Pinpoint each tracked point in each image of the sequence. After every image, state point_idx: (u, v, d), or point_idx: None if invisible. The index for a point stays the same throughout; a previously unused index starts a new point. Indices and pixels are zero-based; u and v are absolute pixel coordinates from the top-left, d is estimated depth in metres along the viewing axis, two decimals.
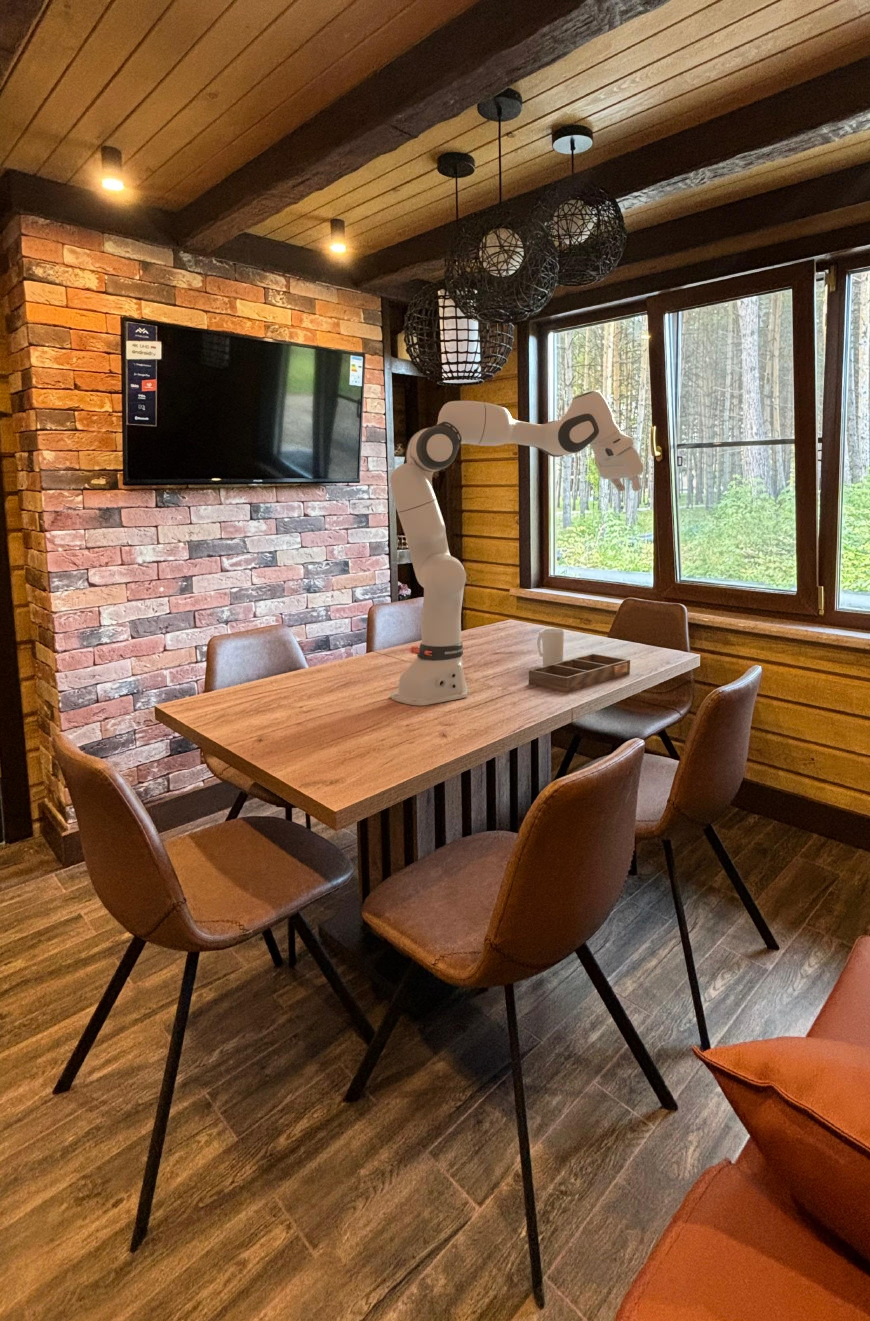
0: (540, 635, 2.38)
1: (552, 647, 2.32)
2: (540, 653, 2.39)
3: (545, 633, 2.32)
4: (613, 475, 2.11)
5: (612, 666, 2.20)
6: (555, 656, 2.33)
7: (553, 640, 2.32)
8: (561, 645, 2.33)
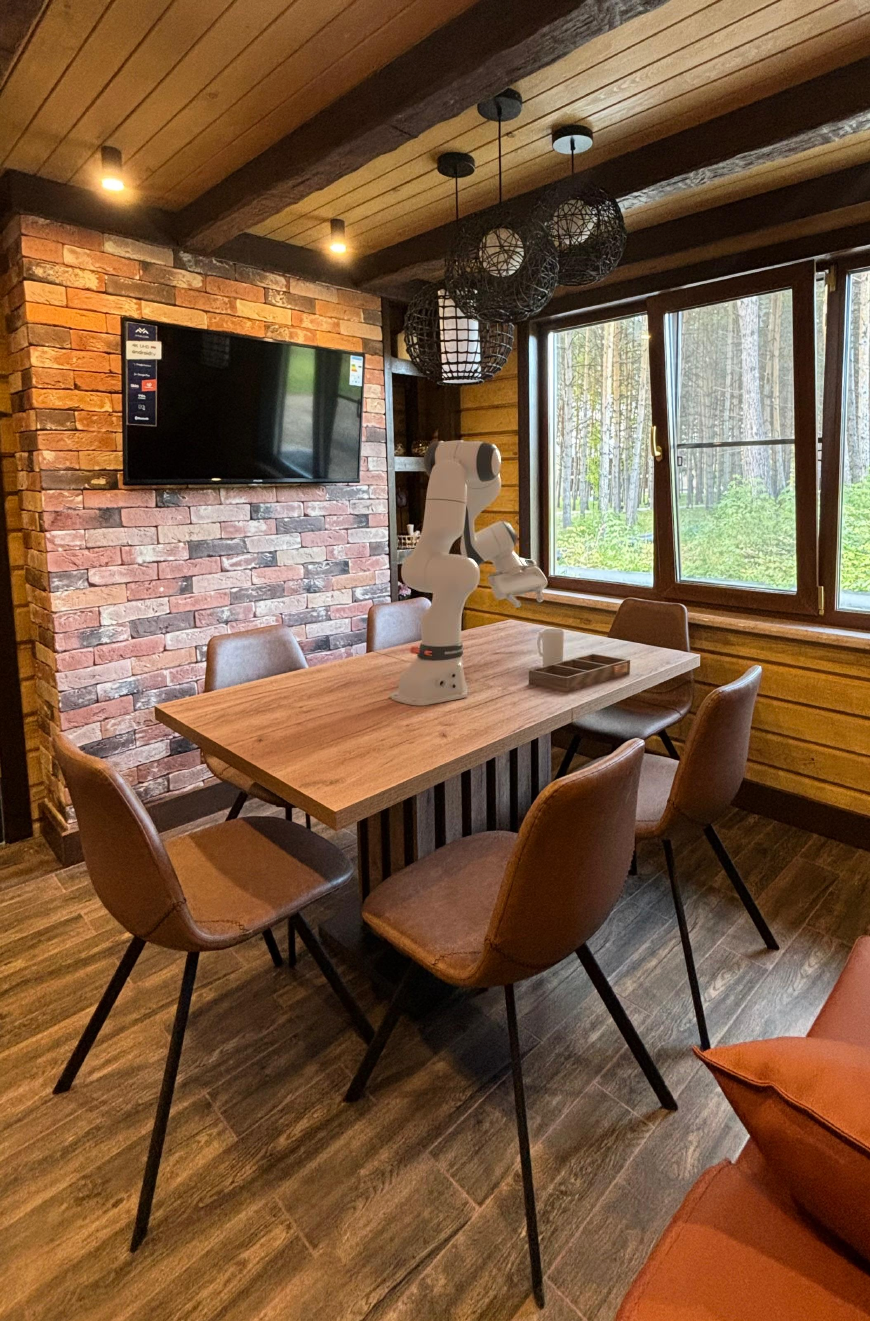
0: (540, 635, 2.38)
1: (552, 647, 2.32)
2: (540, 653, 2.39)
3: (545, 633, 2.32)
4: (520, 587, 2.42)
5: (612, 666, 2.20)
6: (555, 656, 2.33)
7: (553, 640, 2.32)
8: (561, 645, 2.33)
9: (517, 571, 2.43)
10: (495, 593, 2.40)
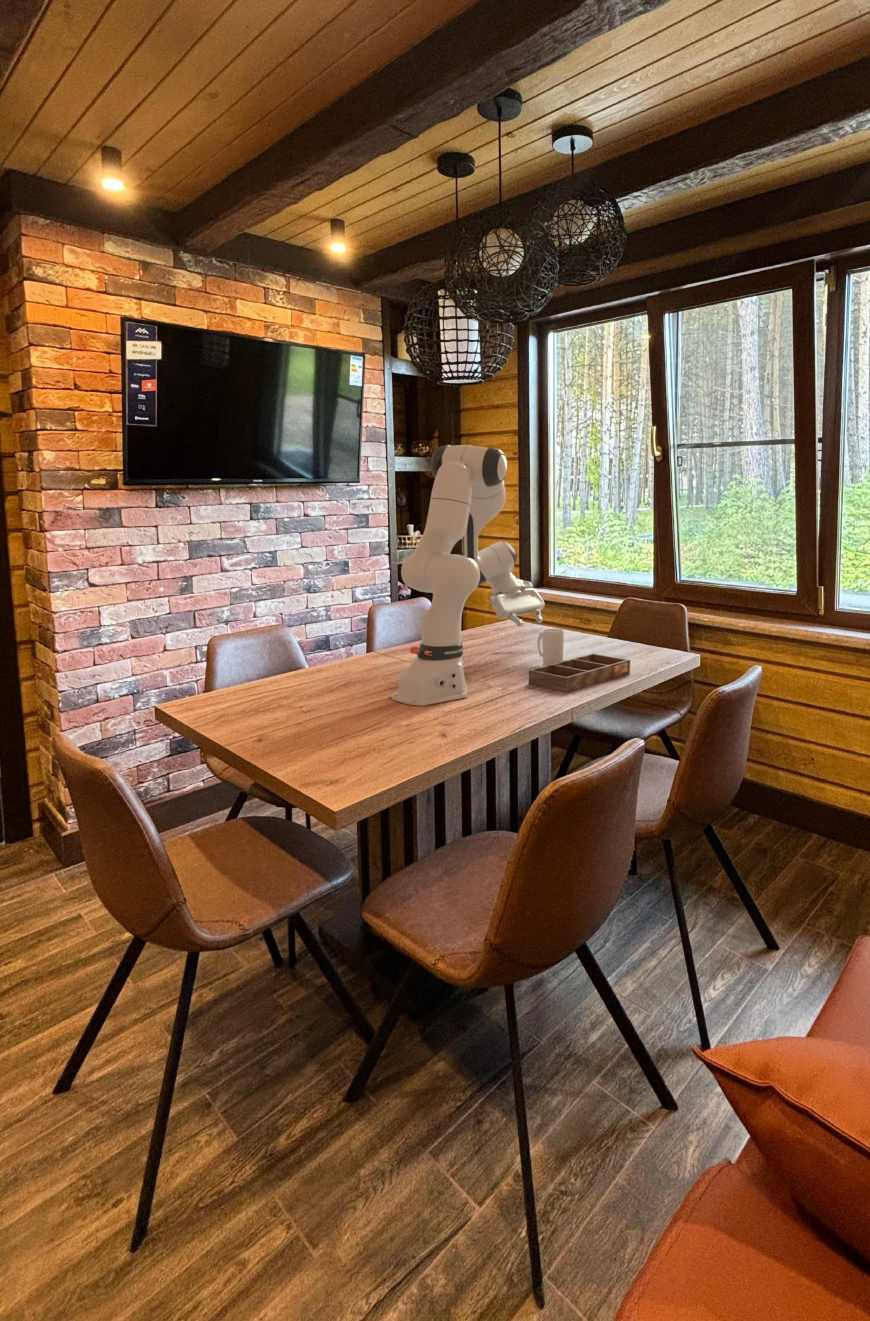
0: (540, 635, 2.38)
1: (552, 647, 2.32)
2: (540, 653, 2.39)
3: (545, 633, 2.32)
4: (521, 606, 2.41)
5: (612, 666, 2.20)
6: (555, 656, 2.33)
7: (553, 640, 2.32)
8: (561, 645, 2.33)
9: (517, 591, 2.42)
10: (498, 612, 2.37)
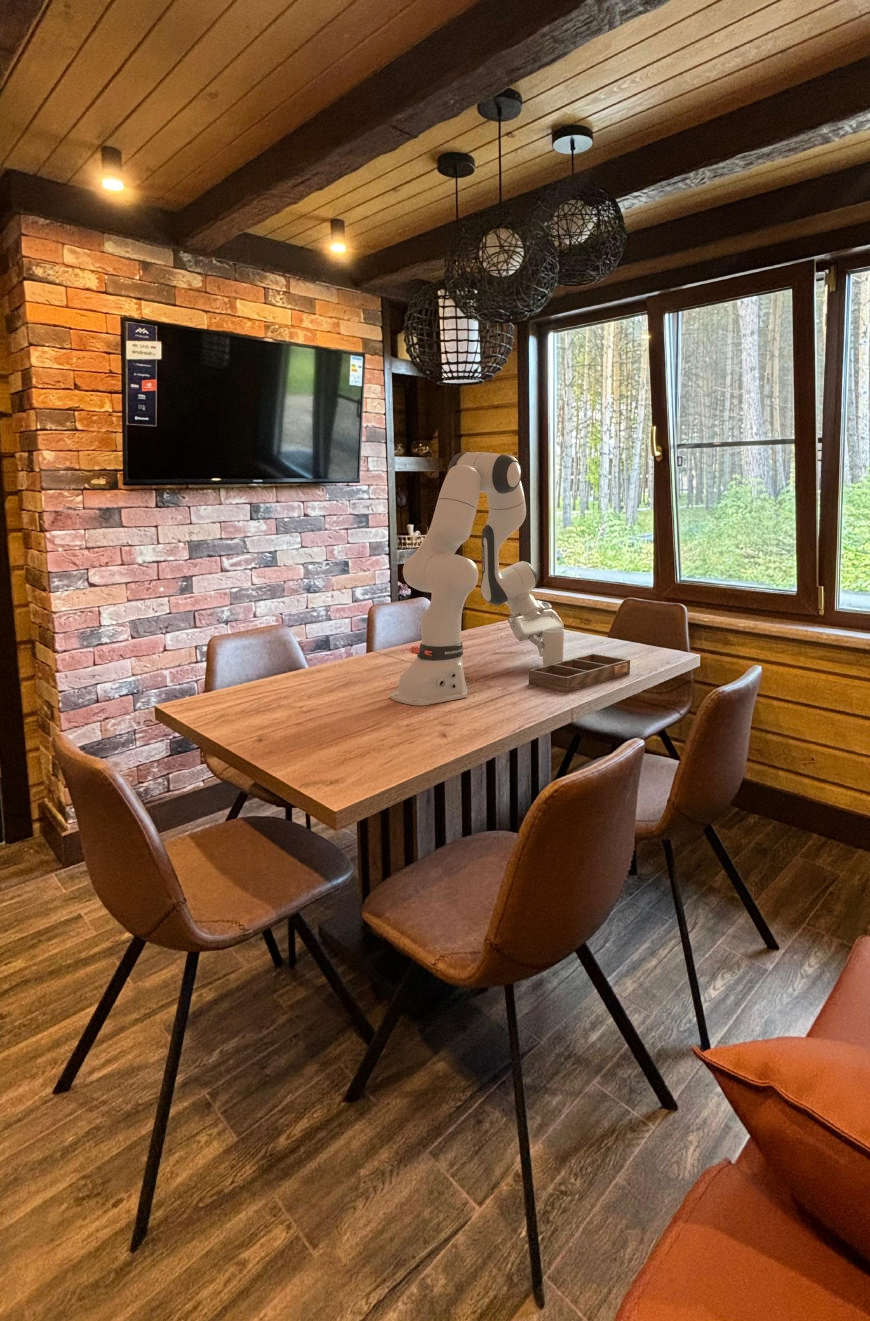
0: (540, 635, 2.38)
1: (552, 647, 2.32)
2: (540, 653, 2.39)
3: (545, 633, 2.32)
4: (540, 628, 2.36)
5: (612, 666, 2.20)
6: (555, 656, 2.33)
7: (553, 640, 2.32)
8: (561, 645, 2.33)
9: (536, 613, 2.38)
10: (517, 634, 2.32)
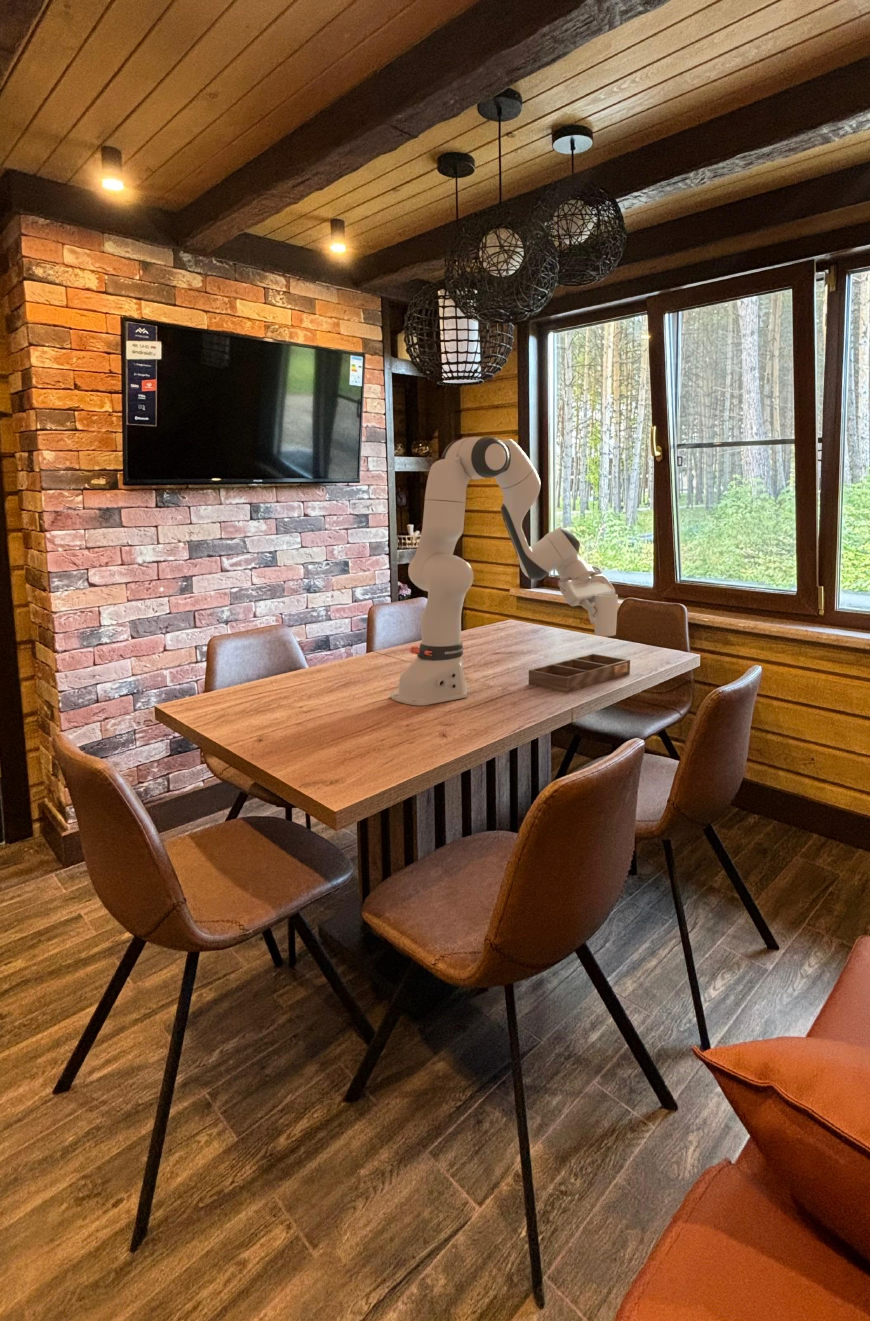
0: (591, 600, 2.26)
1: (605, 612, 2.20)
2: (591, 620, 2.27)
3: (598, 597, 2.20)
4: (592, 593, 2.23)
5: (612, 666, 2.20)
6: (609, 622, 2.20)
7: (606, 605, 2.19)
8: (615, 610, 2.20)
9: (587, 577, 2.25)
10: (568, 599, 2.20)
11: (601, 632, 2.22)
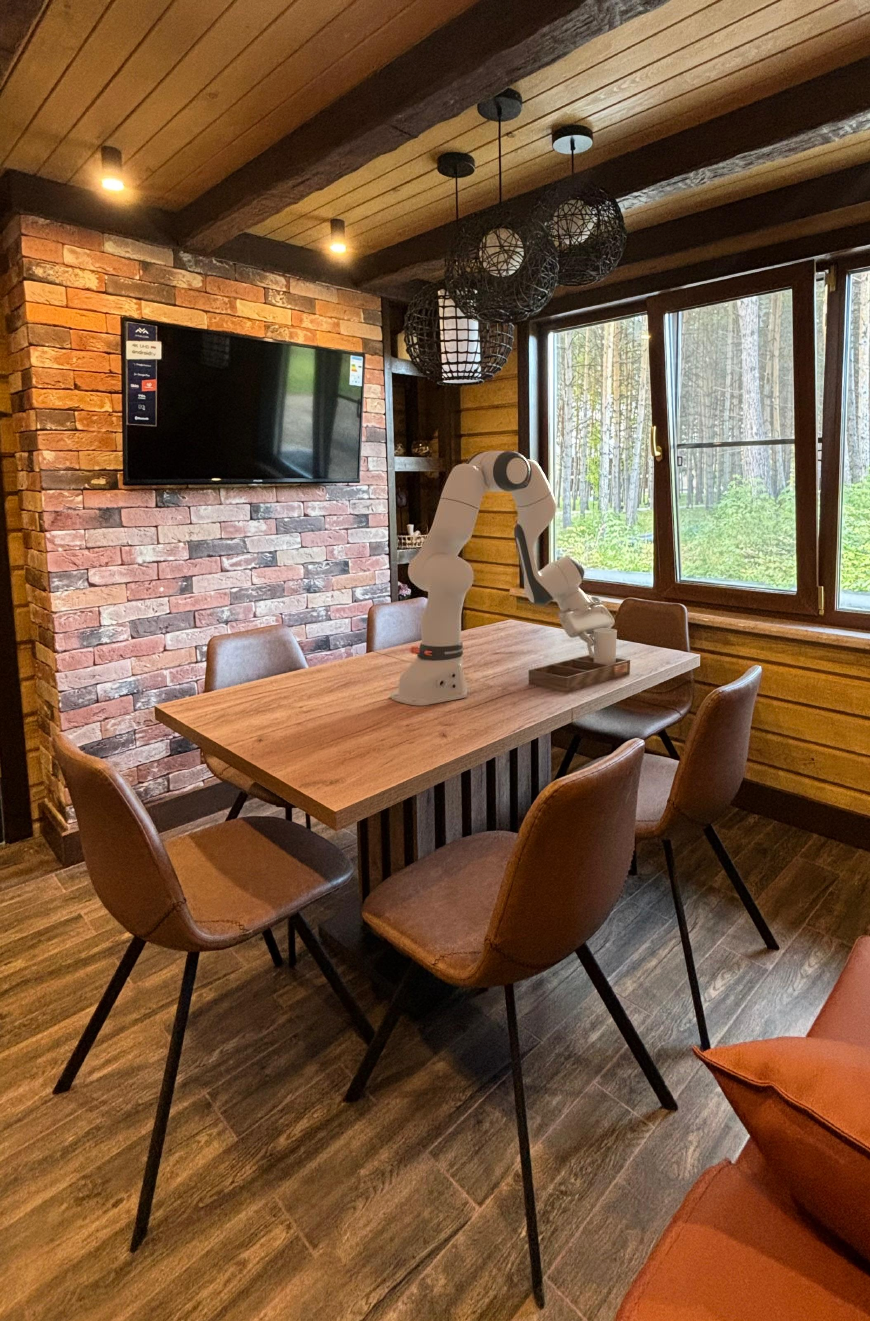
0: (591, 635, 2.28)
1: (605, 648, 2.22)
2: (590, 654, 2.29)
3: (597, 633, 2.22)
4: (591, 624, 2.25)
5: (612, 666, 2.20)
6: (608, 657, 2.23)
7: (605, 641, 2.21)
8: (614, 646, 2.23)
9: (587, 608, 2.27)
10: (568, 631, 2.22)
11: None
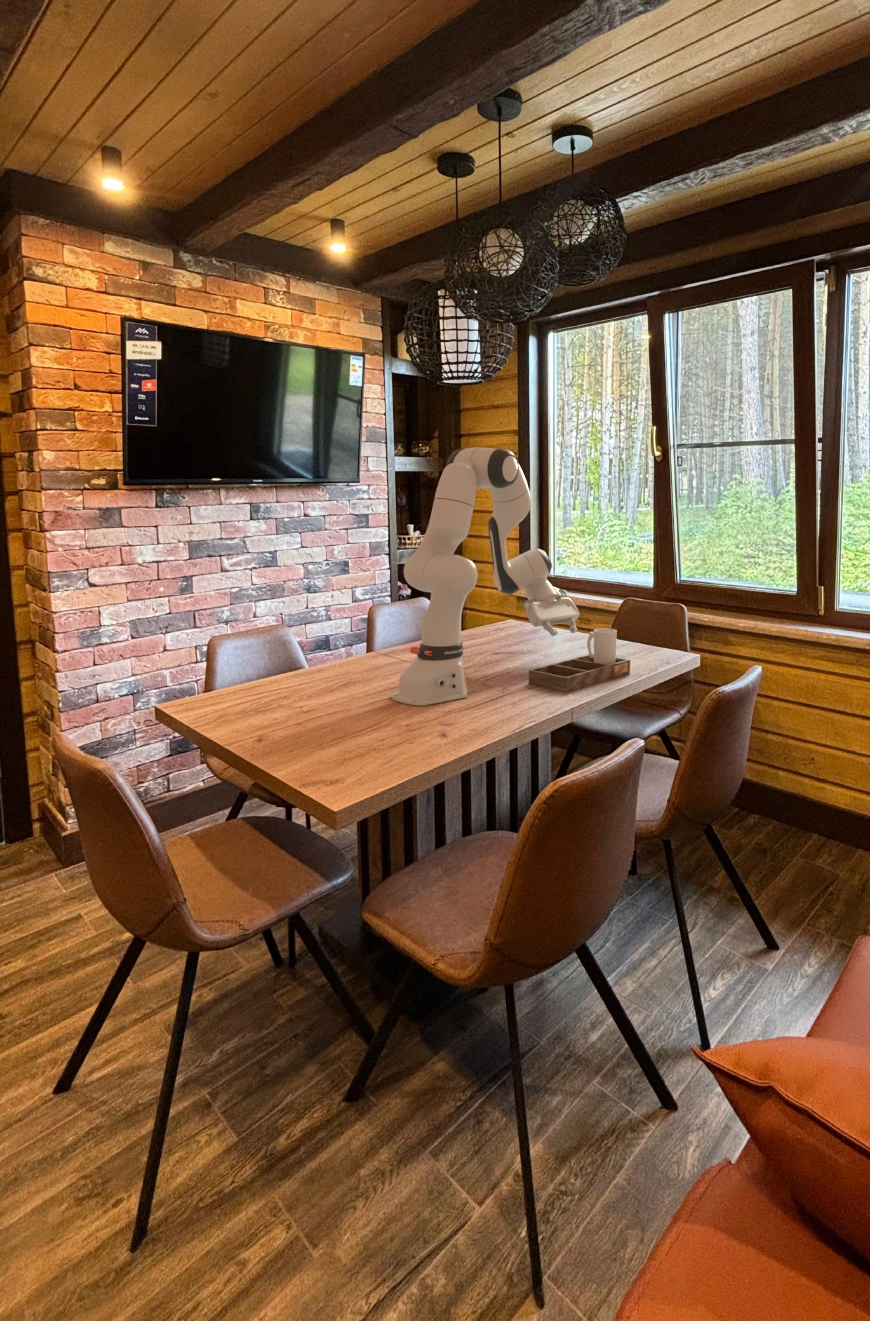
0: (591, 635, 2.28)
1: (604, 648, 2.22)
2: (590, 654, 2.29)
3: (597, 633, 2.22)
4: (556, 615, 2.34)
5: (612, 666, 2.20)
6: (608, 657, 2.23)
7: (605, 641, 2.21)
8: (614, 646, 2.23)
9: (552, 600, 2.36)
10: (532, 620, 2.31)
11: None
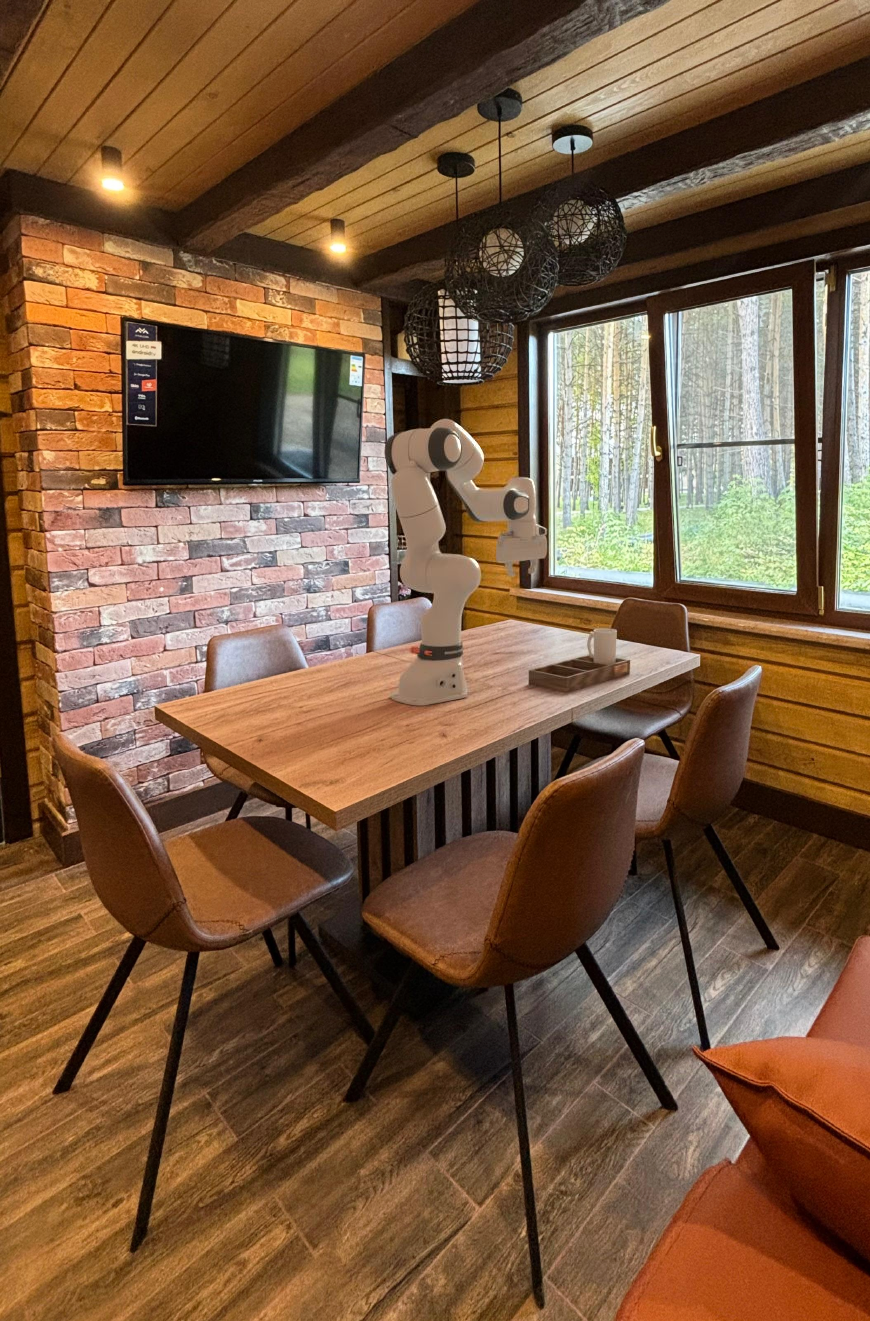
0: (591, 635, 2.28)
1: (604, 648, 2.22)
2: (590, 654, 2.29)
3: (597, 633, 2.22)
4: (522, 557, 2.31)
5: (612, 666, 2.20)
6: (608, 657, 2.23)
7: (605, 641, 2.21)
8: (614, 646, 2.23)
9: (528, 540, 2.30)
10: (498, 555, 2.28)
11: None
